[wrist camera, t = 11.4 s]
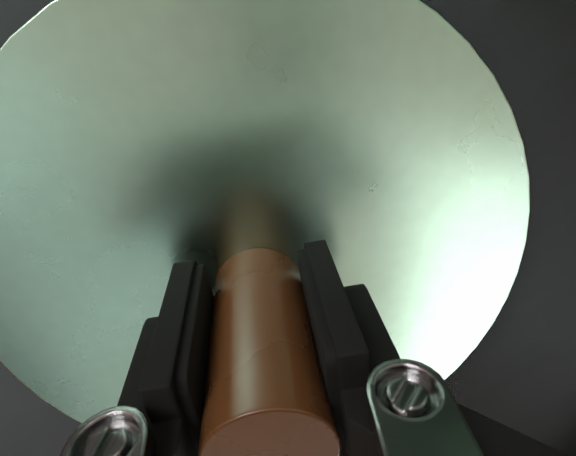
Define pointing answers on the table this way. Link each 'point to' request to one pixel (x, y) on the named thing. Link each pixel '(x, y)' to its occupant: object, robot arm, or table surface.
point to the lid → (248, 195)
